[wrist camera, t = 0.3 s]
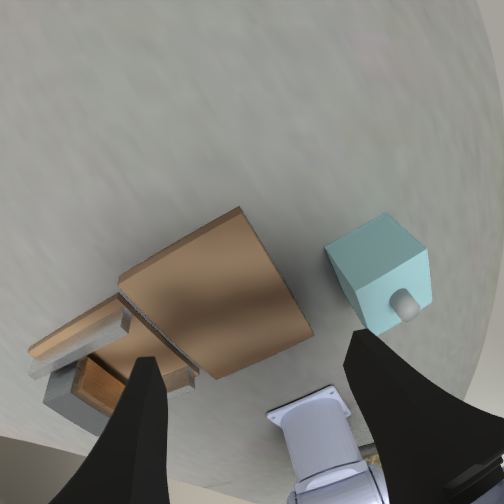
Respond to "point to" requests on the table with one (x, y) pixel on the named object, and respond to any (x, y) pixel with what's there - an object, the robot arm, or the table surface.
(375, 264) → the block
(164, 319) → the frame
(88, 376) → the block
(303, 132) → the table surface
